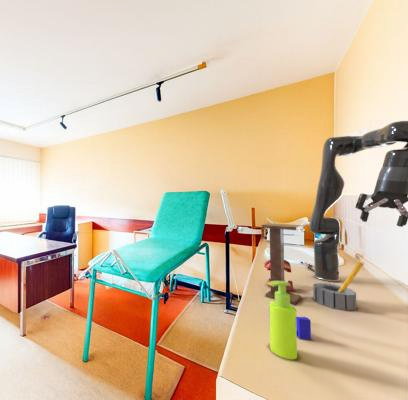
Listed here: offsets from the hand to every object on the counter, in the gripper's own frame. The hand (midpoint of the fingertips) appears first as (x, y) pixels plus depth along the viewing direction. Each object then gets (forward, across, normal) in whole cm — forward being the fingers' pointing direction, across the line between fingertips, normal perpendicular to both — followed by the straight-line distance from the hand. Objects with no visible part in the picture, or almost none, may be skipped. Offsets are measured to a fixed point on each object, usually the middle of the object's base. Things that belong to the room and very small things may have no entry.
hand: (381, 223), depth 79 cm
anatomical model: (+40, +22, -8) cm, 46 cm away
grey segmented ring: (+36, +6, 0) cm, 36 cm away
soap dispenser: (+34, +27, +48) cm, 64 cm away
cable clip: (+35, +23, +32) cm, 53 cm away
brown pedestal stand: (+38, +22, +4) cm, 44 cm away
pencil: (+26, +4, 0) cm, 26 cm away
